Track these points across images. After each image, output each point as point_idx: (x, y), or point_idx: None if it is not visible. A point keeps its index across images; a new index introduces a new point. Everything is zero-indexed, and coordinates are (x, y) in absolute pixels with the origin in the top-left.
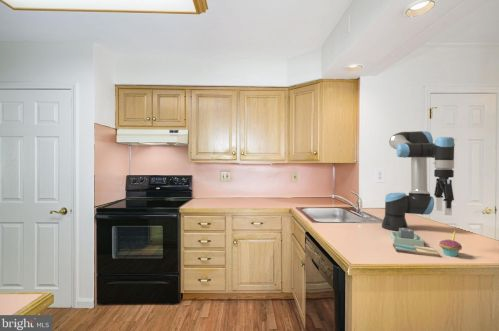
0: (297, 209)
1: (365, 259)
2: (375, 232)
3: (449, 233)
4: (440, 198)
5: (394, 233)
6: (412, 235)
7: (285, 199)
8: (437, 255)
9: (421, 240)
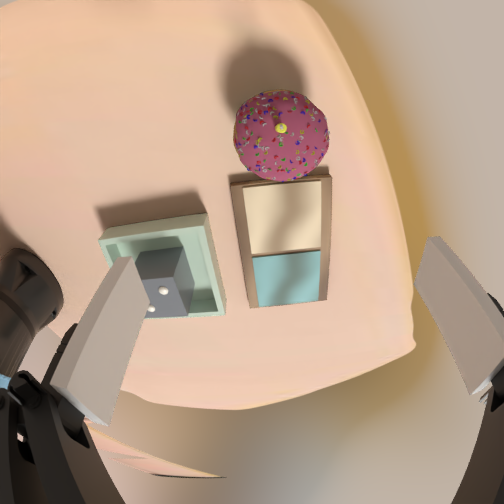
0: None
1: (396, 339)
2: None
3: None
4: (84, 395)
5: None
6: (179, 269)
7: None
8: (330, 186)
9: (202, 233)
